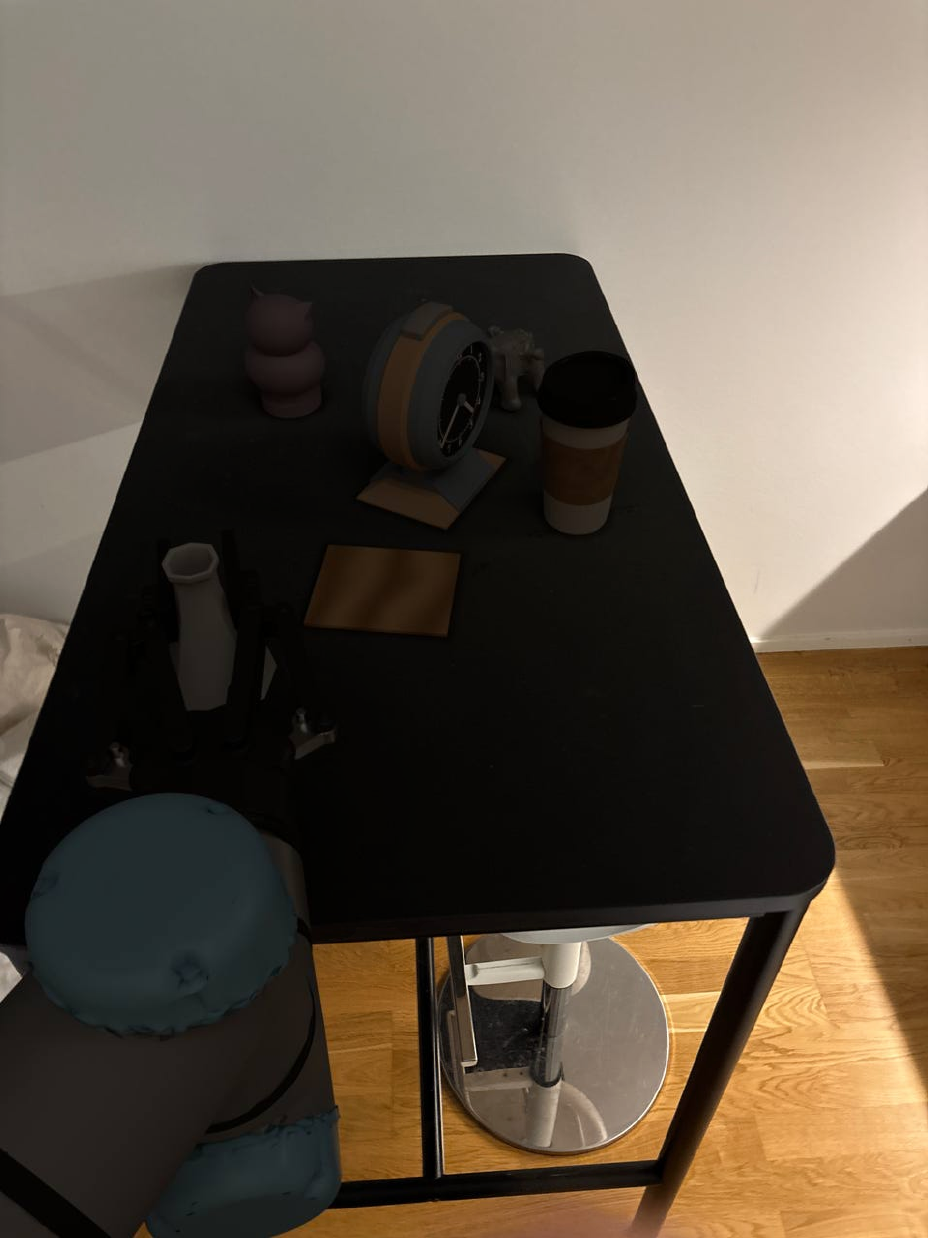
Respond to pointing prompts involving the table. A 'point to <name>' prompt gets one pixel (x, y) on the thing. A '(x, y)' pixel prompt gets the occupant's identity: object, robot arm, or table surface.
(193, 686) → the flask
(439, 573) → the wooden board
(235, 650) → the robot arm
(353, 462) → the table surface
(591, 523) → the coffee cup
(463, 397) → the alarm clock
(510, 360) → the gray elephant figurine
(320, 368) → the cat figurine
